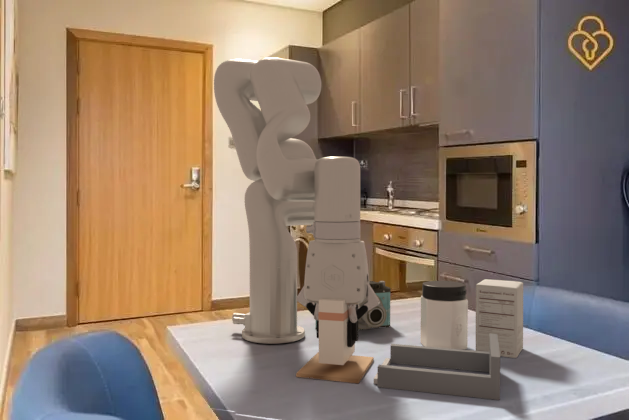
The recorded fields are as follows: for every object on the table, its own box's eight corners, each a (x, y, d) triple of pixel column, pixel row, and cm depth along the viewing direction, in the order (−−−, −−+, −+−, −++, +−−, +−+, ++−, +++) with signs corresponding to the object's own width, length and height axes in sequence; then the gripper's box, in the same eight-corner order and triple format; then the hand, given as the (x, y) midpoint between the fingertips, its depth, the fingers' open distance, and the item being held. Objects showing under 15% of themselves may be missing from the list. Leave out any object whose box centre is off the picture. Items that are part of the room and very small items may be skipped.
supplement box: (483, 343, 105) (484, 278, 104) (524, 348, 101) (524, 281, 101) (474, 352, 98) (474, 283, 98) (516, 359, 95) (517, 287, 94)
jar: (443, 355, 97) (443, 289, 96) (411, 344, 103) (411, 282, 103) (476, 347, 102) (477, 284, 101) (444, 338, 108) (444, 279, 108)
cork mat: (296, 376, 85) (296, 373, 85) (318, 355, 96) (318, 352, 96) (358, 383, 82) (358, 379, 82) (373, 360, 93) (373, 357, 93)
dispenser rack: (372, 386, 81) (372, 346, 80) (386, 360, 93) (387, 326, 93) (499, 400, 75) (500, 357, 75) (496, 370, 88) (497, 334, 88)
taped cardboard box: (318, 363, 86) (318, 300, 85) (331, 349, 93) (331, 291, 93) (343, 365, 84) (343, 301, 84) (355, 351, 92) (355, 292, 92)
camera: (328, 340, 107) (329, 290, 106) (313, 329, 116) (313, 283, 115) (403, 334, 112) (404, 286, 112) (383, 324, 121) (383, 279, 121)
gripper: (281, 233, 87) (281, 346, 88) (384, 234, 82) (384, 354, 83) (296, 230, 95) (296, 335, 95) (391, 232, 90) (391, 342, 90)
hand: (337, 342), depth 89 cm, fingers closed on taped cardboard box, 4 cm apart
